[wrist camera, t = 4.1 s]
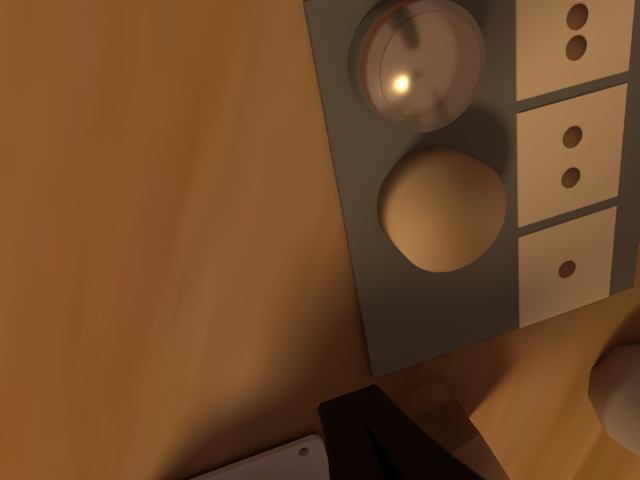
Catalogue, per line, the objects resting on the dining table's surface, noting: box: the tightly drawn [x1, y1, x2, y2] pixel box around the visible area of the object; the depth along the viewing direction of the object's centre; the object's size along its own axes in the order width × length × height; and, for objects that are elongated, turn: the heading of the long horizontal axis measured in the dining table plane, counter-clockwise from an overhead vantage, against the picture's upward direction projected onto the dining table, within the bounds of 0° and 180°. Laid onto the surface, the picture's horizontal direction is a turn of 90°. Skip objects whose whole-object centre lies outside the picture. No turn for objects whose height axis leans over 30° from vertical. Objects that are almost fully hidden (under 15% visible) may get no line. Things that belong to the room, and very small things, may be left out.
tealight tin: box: [348, 0, 486, 133], centre depth 17 cm, size 4×4×2 cm
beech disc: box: [377, 145, 507, 272], centre depth 20 cm, size 4×4×2 cm
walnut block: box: [395, 375, 510, 480], centre depth 25 cm, size 4×4×4 cm
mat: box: [303, 0, 640, 379], centre depth 21 cm, size 14×16×1 cm
